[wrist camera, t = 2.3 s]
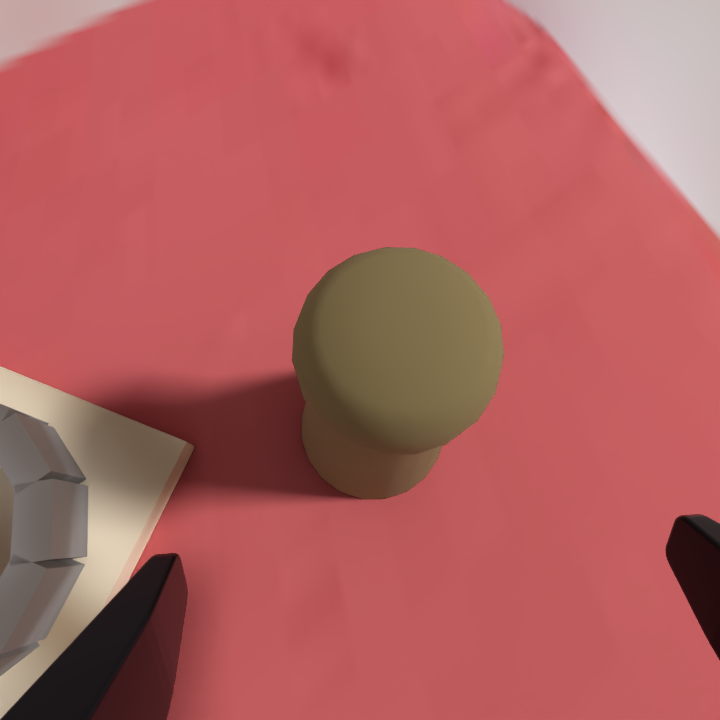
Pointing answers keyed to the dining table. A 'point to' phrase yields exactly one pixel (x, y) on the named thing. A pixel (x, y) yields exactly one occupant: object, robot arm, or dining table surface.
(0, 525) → the collar board
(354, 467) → the cork
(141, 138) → the dining table surface
